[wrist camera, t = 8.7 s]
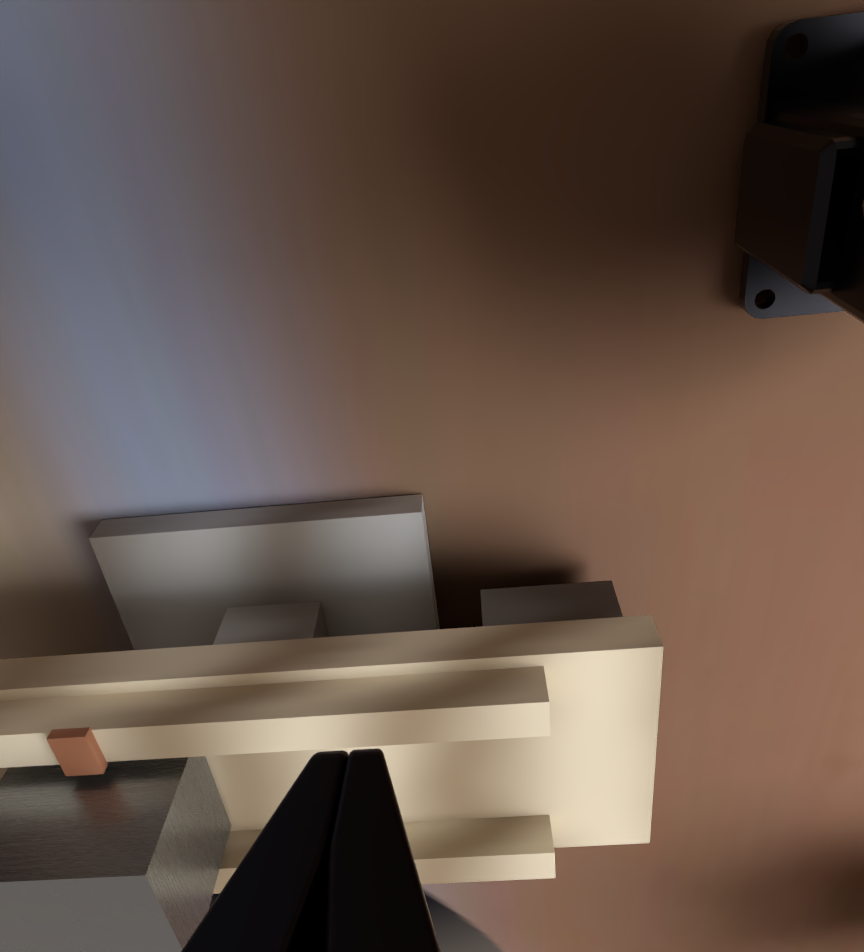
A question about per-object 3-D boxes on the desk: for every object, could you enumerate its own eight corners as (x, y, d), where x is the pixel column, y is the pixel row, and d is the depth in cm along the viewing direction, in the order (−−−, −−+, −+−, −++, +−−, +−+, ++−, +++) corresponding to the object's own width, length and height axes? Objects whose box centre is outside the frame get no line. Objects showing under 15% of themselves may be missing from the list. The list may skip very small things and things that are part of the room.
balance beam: (623, 477, 22) (685, 626, 16) (615, 752, 28) (658, 930, 22) (-82, 534, 23) (-250, 689, 18) (54, 783, 29) (-39, 958, 24)
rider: (196, 734, 20) (145, 875, 17) (231, 825, 22) (192, 968, 19) (22, 744, 21) (-64, 885, 17) (71, 833, 23) (4, 976, 19)
